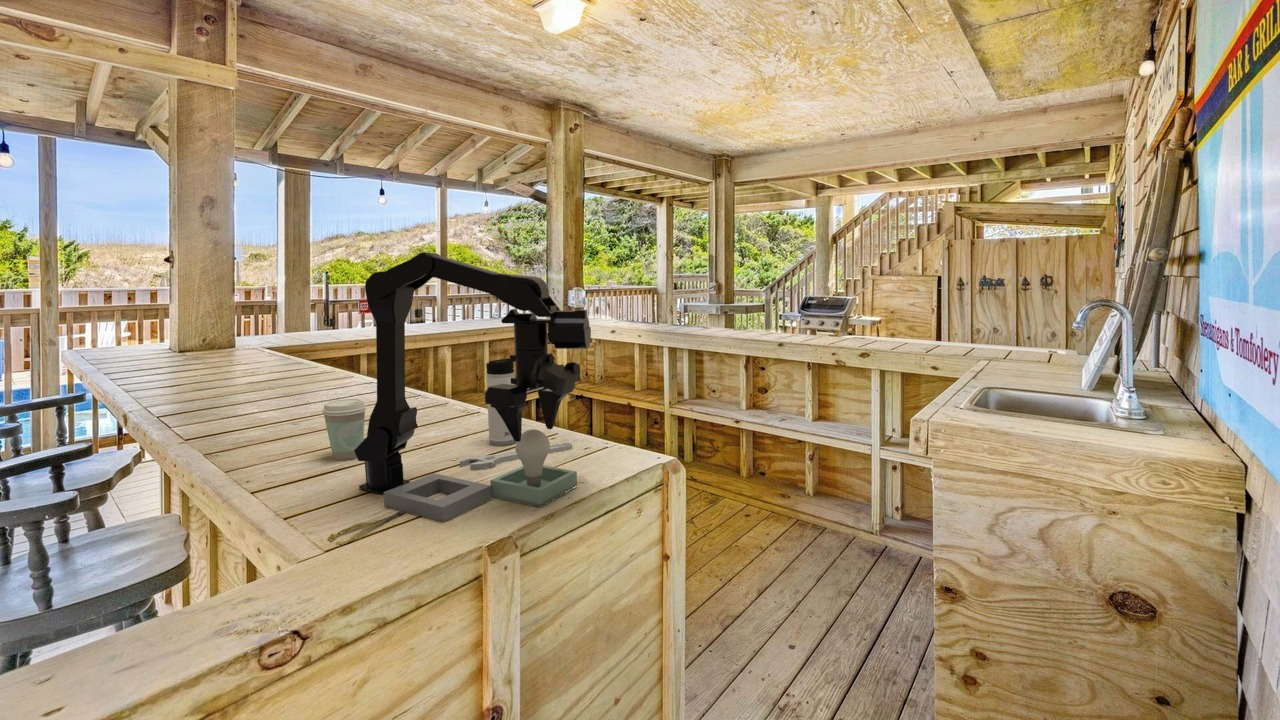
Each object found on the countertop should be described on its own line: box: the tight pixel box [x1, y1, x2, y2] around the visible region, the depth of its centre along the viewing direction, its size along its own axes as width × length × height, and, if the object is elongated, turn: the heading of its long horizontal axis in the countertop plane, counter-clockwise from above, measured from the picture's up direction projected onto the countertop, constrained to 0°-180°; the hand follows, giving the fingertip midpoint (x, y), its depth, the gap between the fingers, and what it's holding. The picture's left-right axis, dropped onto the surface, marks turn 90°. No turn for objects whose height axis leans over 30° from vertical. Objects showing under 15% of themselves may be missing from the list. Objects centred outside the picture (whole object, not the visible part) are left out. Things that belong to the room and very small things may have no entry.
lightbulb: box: [514, 429, 551, 487], centre depth 107 cm, size 6×6×11 cm
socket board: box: [383, 472, 492, 523], centre depth 103 cm, size 14×11×2 cm
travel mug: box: [485, 358, 516, 447], centre depth 138 cm, size 6×7×20 cm
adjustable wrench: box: [459, 442, 573, 471], centre depth 128 cm, size 25×6×2 cm, turn 120°
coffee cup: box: [321, 398, 367, 461], centre depth 129 cm, size 9×8×12 cm
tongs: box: [326, 510, 407, 546], centre depth 93 cm, size 4×13×2 cm, turn 155°
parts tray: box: [489, 464, 578, 508], centre depth 108 cm, size 11×11×3 cm
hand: (534, 434), depth 106 cm, fingers open, 9 cm apart
